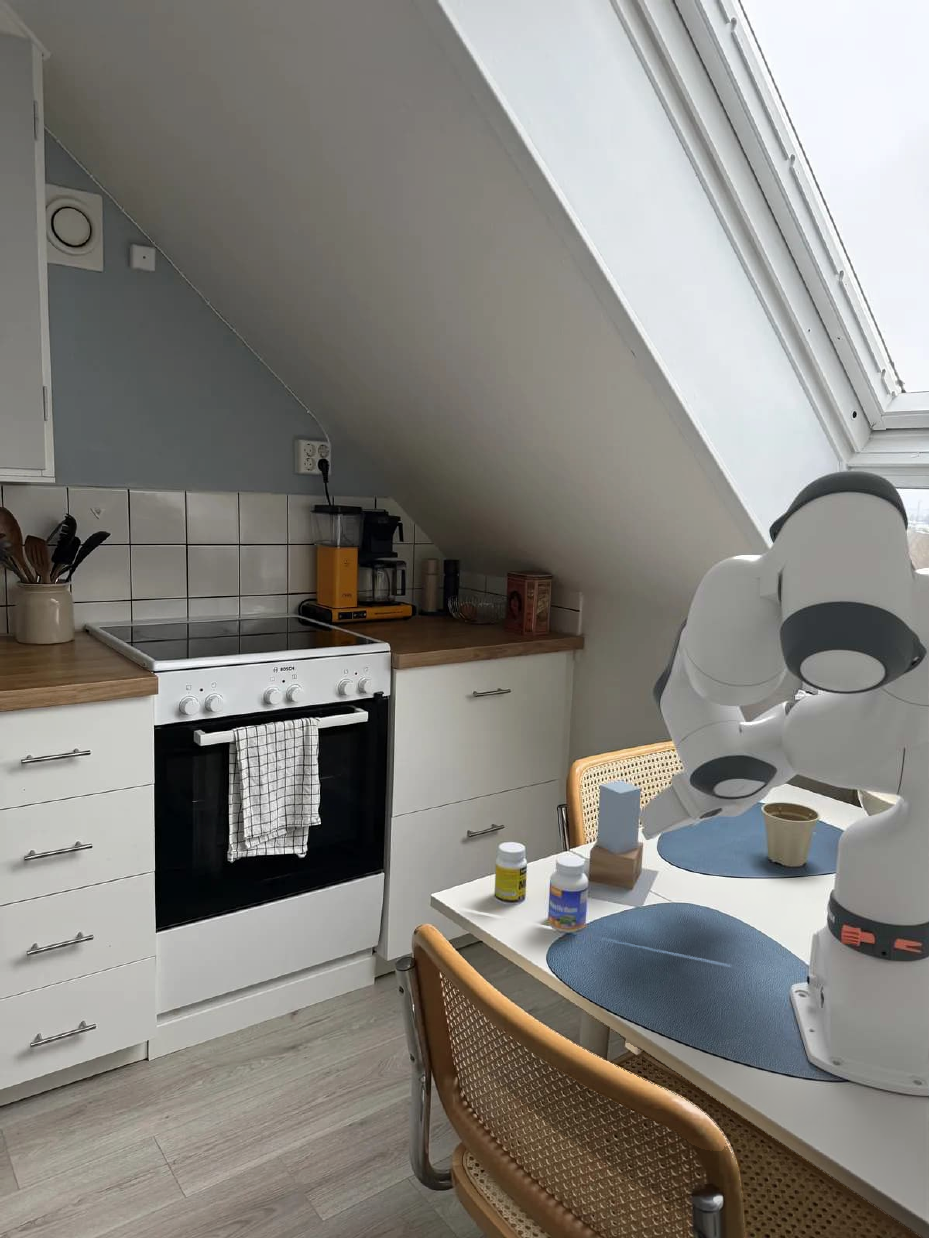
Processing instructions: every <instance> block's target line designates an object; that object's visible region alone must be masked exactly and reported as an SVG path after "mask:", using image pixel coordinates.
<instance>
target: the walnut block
mask: <svg viewBox="0 0 929 1238" xmlns="http://www.w3.org/2000/svg"><path fill="white" fill-rule="evenodd" d="M643 853H644V842H642V841H638V848H637V849H635V850H631V851H628V852H625V853H621V854H618V855H616V854H614V853H612V852H610V851H608V850H606V849H604V848H602V847H600V846H598V845H597V841H596V842H595V843H594V844H593V846H592V848H591V849H590V850H589V859H590V863H589V881H591V882H596V883H601V884H607V885H612V886H617V887H622V888H628V889H633V888H634V886H635V884H636V882H637V880H638V878H639V876H640V874H641V872H642V868H643V867H642V866H643V856H644V855H643Z"/></svg>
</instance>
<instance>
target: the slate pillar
mask: <svg viewBox="0 0 929 1238" xmlns="http://www.w3.org/2000/svg"><path fill="white" fill-rule="evenodd" d="M641 791H642V787H639V786H636V785H634V784H631V783H629V782H626V781H624V780H621V779H620V780H614V781H611V782H610V781H609V782H607V783H603V784H599V800H598V801H599V803H598V818H597V819H598V820H597V835H596V836H597V839H596V842H597V845H598V846H600V847H602V848H604V849H606V850H608V851H610V852H612V853H614V854H616V855H618V854H621V853H625V852H628V851H631V850H635V849H637V848H638V842H639V830H640V829H639V828H640V819H639V813H640V811H641V798H642V797H641V796H642V793H641Z"/></svg>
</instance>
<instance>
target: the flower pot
mask: <svg viewBox="0 0 929 1238" xmlns="http://www.w3.org/2000/svg"><path fill="white" fill-rule="evenodd" d="M760 809H761V812H762V814H763V820H764V822H765V831H766V846H767V847H766V848H767V850H766V851H767V857H768V859H769V860H770V859H771V860H772V861H771V860H770V861H771V862H773V863H774V862H777V863H778V864H781V865H782V866H784V865H785V867H802V866H803V865H804V864H806V863H807V860H808V855H809V851H810V846H811V842H812V839H813V834H814V831H815V828H816V826H817V823H818V821H819V820H820V819H821V813H819V811H818V810H816V809H814V808H812V807H809V806H806V805H804V804H801V803H800V804H799V803H795V802H788V801H774V802H768V803H764V804H763V805H762V806H761V808H760Z"/></svg>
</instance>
